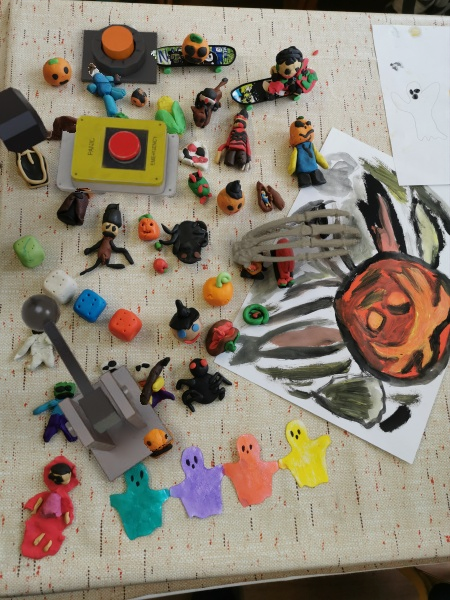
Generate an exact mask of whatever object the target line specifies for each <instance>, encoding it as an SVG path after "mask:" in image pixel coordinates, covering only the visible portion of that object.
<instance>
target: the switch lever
mask: <svg viewBox="0 0 450 600" xmlns="http://www.w3.org/2000/svg"><path fill="white" fill-rule="evenodd" d="M20 315H21V320H22V322H23V323H24V324H25V326H26V327H27V328H29V329H31V330H33V331H35V332H44V333H45V334H46V336H47V337H48V339H49V341H50V342H51V345H52V346H53V348H54V349H55V351H56V353H57V354H58V356H59V358H60V359H61V361H62V363H63V364H64V366H65V368H66V369H67V371H68V373H69V374H70V376H71V378H72V379H73V381H74V383H75V385H76V386H77V388H78V390H79V392H80V393H82V395H83V396H84V397H83V398H81V399H80V400H78V403H79V404H80V406H81V408H82V409H83V411H84V413H85V414H86V416H87V418H88V420H89V421H90V423H91V425H92V426H93V427H94V428H95V429H96V430H97V431H98V432H99V433H100V434H101V433H103V432H104V431H106V430H107V429H109V428H110V427H112V426H113V425H115V424H116V423H118V422H119V421H121V420H122V419H121V417H120V416H119V414H118V413H117V411H116V409H115V408H114V406H113V404H112V403H111V401H110V400H109V398H108V396H107V395H106V394H105V392H104V391H103V390H102V389H101V387H98V388H97V389H95V388H94V387H93V385H94V384H93V383H92V381H91V380H90V379H89V377H88V375H87V374H86V372H85V370H84V368H83V367H82V365H81V364H80V362H79V361H78V359H77V357H76V356H75V354H74V352H73V351H72V348H71V347H70V346H69V344H68V342H67V341H66V339H65V338H64V336H63V334H62V332H61V330H60V329H59V327H58V326H57V324H58V323H59V321H60V318H61V307H60V304H59V302H58V301H57V300H56V299H55V298H54V297H52V296H50V295H49V294H44V293H37V294H33V295H31V296H30V297H28V298H27V299H26V300H25V301H24V303H23V304H22V306H21V311H20Z"/></svg>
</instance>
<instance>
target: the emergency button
mask: <svg viewBox="0 0 450 600" xmlns="http://www.w3.org/2000/svg"><path fill="white" fill-rule="evenodd" d="M75 125H76V132H75V133H69V132H67V131H63V130H62V134H61V142H60V150H59V157H58V165H57V172H56V179H55V182H56V187H57V189H59V190H60V191H62V192H65V193H66V192H67V193H76V192H75V191H77V190H76V189H77V188H78V189H79V188H88V189H91V191H80V192H79V193H81V192H83V193H82V194H85V193H86V194H99V195H104V194H107V193H110V194H127V195H128V194H129V195H139V196H140V195H142V196H155V197H156V196H158V197H169V198H172V197H174V196H175V195H176V193H177V183H178V181H177V180H178V167H179V166H178V165H179V149H180V136H179V135H178V133H176V134H169V133H167V131H168V127H167V124H166V123H165V122H164V121H162V120H153V119H139V118H128V117H127V118H125V117H113V116H112V117H111V116H110V117H109V116H99V115H98V116H97V115H80V116H79V117H78V118H77V120H76V124H75Z"/></svg>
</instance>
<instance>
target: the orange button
mask: <svg viewBox="0 0 450 600" xmlns="http://www.w3.org/2000/svg"><path fill="white" fill-rule="evenodd" d="M102 43H103V48H104V52H105V54H106V55H107V56H108V57H110V58H111V59H114V60H123V59H126V58H128V57H129V56H130V55H131V54H132V53H133V50H134V44H133V37H132V34H131V32H130V31H129V30H128V29H126V28H125V27H122V26H112V27H110V28H108V29H106V30H105V31H104V33H103V35H102Z"/></svg>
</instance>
